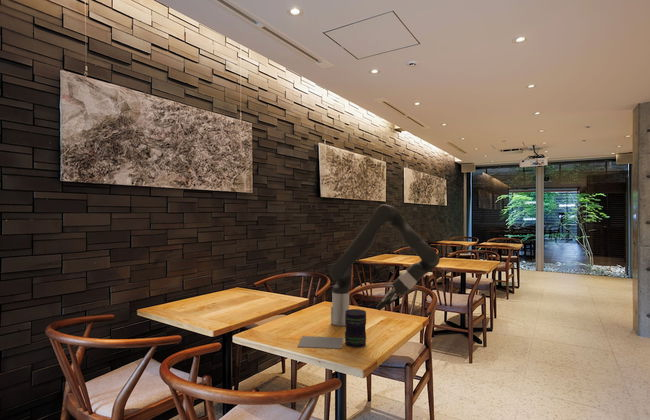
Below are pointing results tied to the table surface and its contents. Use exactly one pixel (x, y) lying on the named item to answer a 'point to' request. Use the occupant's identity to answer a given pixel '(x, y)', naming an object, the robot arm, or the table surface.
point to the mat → (321, 342)
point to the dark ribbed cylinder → (355, 328)
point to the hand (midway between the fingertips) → (377, 308)
